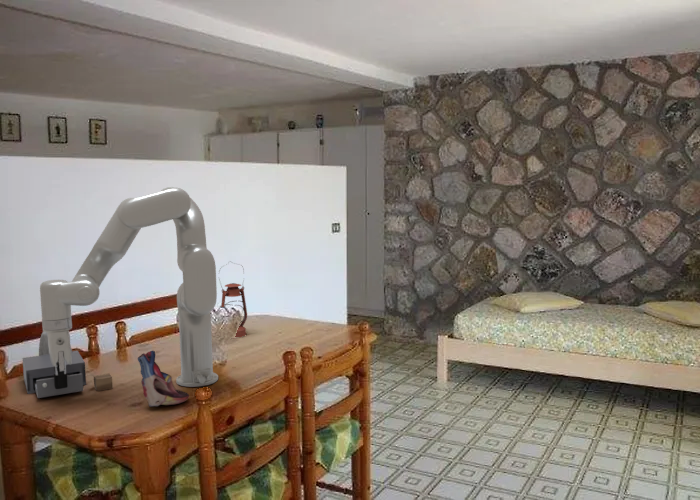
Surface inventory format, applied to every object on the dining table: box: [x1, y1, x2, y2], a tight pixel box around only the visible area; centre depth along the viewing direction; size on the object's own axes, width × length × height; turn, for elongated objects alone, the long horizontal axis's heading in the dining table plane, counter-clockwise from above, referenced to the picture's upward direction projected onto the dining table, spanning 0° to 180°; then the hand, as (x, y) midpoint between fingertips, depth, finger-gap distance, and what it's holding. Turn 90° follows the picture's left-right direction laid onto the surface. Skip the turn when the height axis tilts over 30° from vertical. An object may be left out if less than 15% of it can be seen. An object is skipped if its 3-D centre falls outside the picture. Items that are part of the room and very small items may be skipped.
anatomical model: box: [137, 350, 190, 407], centre depth 176 cm, size 9×13×15 cm
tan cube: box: [93, 373, 114, 392], centre depth 192 cm, size 4×4×4 cm
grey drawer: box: [33, 372, 84, 399], centre depth 190 cm, size 16×12×5 cm
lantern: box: [218, 260, 248, 338], centre depth 254 cm, size 10×10×30 cm
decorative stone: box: [38, 330, 73, 356], centre depth 213 cm, size 11×6×15 cm, turn 148°
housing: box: [22, 350, 87, 395], centre depth 198 cm, size 16×16×7 cm
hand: (61, 387), depth 182 cm, fingers closed
